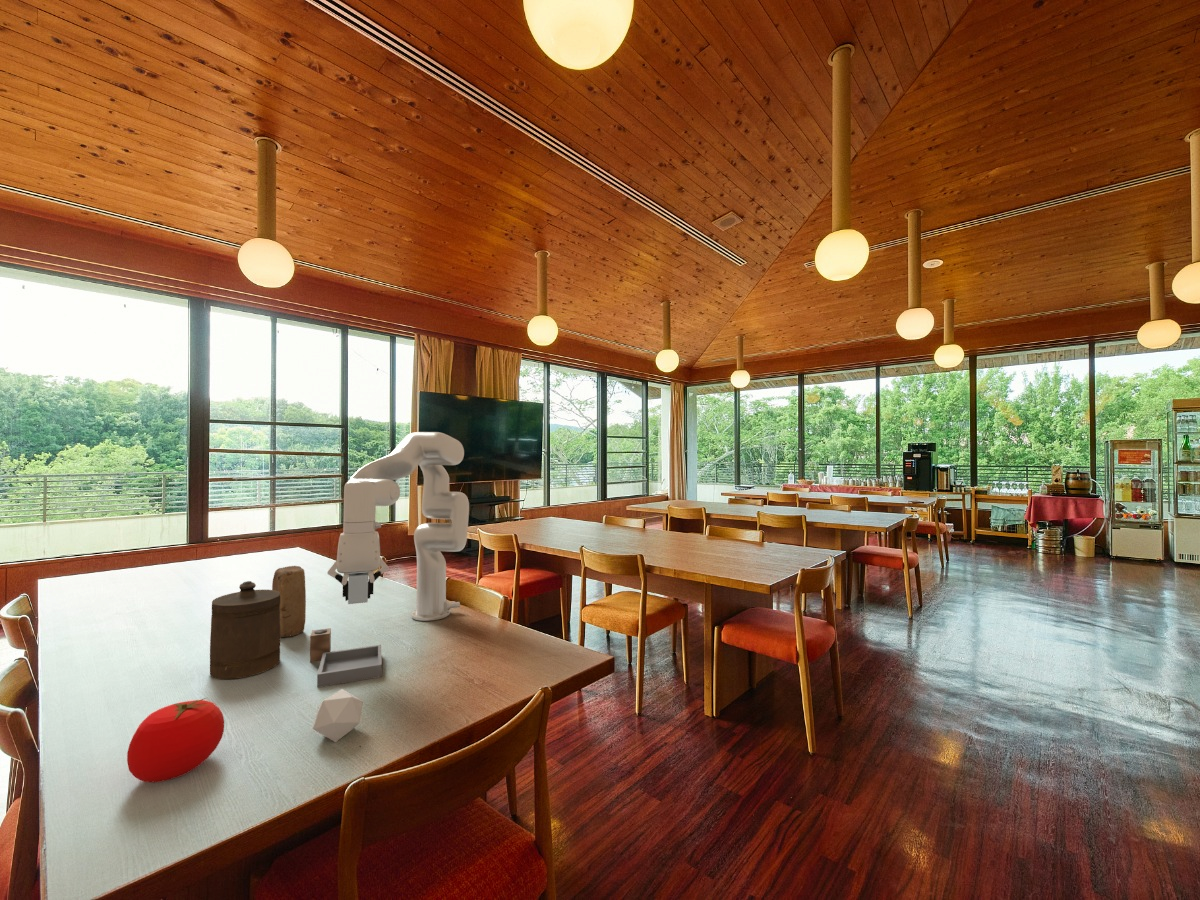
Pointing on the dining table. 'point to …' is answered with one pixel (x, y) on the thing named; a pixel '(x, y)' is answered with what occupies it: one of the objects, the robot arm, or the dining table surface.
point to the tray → (350, 665)
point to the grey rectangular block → (358, 588)
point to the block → (291, 599)
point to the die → (338, 715)
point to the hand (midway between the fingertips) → (358, 597)
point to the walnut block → (319, 643)
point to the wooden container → (245, 632)
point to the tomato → (175, 740)
